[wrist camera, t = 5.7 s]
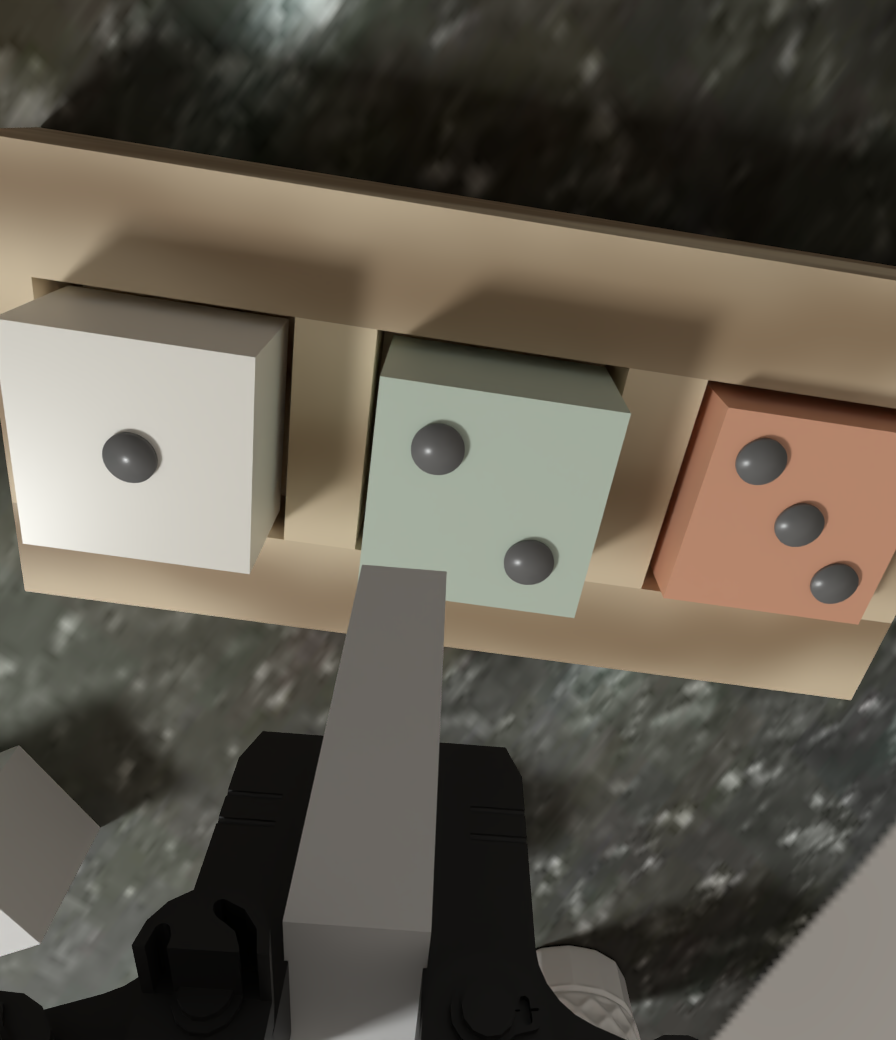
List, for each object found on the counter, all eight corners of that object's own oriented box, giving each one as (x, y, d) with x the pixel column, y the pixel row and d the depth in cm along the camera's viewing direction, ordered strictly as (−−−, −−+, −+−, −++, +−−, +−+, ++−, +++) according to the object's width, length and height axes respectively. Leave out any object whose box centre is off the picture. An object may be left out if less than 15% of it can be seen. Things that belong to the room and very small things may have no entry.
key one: (68, 285, 22) (-12, 319, 18) (289, 319, 22) (253, 359, 19) (85, 482, 25) (19, 546, 21) (280, 510, 25) (248, 577, 22)
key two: (393, 334, 22) (379, 378, 19) (605, 367, 23) (632, 415, 19) (372, 522, 25) (356, 591, 22) (559, 549, 26) (574, 620, 22)
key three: (690, 365, 24) (730, 409, 21) (881, 394, 25) (953, 443, 21) (638, 535, 27) (664, 600, 24) (808, 559, 28) (860, 627, 24)
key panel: (38, 127, 22) (-41, 129, 19) (970, 278, 24) (1057, 306, 20) (78, 533, 29) (24, 591, 26) (806, 632, 30) (851, 700, 27)
